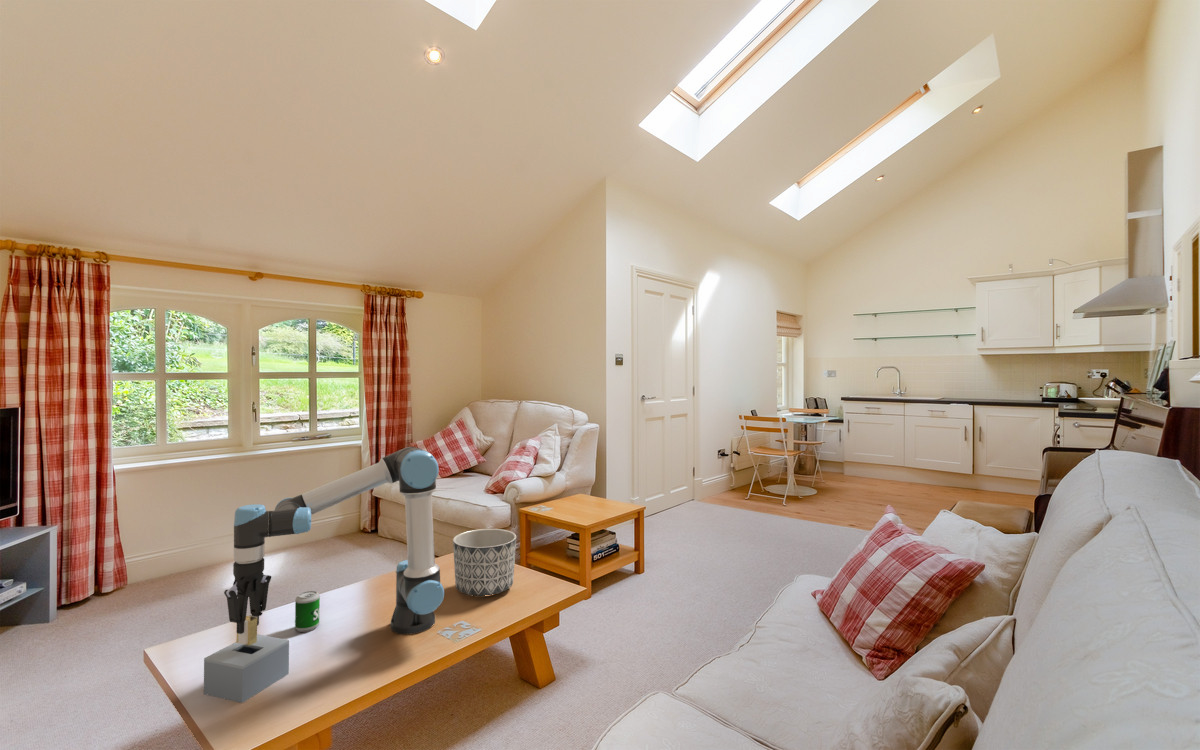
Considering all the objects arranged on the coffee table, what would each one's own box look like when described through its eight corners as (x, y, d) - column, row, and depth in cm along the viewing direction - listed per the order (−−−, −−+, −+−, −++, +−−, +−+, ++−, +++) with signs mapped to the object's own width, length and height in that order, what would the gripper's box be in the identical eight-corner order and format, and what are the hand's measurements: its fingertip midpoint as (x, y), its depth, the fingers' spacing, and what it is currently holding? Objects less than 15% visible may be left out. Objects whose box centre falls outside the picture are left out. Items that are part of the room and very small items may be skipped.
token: (256, 641, 154) (257, 617, 154) (249, 645, 152) (250, 621, 152) (243, 639, 155) (244, 615, 155) (236, 642, 153) (237, 618, 153)
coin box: (288, 673, 159) (289, 640, 159) (242, 703, 144) (242, 666, 144) (252, 666, 163) (252, 633, 163) (203, 694, 148) (204, 658, 148)
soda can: (308, 634, 183) (309, 599, 183) (289, 632, 184) (290, 597, 184) (324, 624, 190) (324, 590, 190) (305, 622, 192) (306, 589, 192)
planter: (467, 576, 237) (467, 527, 237) (523, 579, 234) (523, 530, 234) (441, 600, 211) (442, 545, 211) (504, 605, 208) (505, 549, 208)
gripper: (262, 550, 162) (261, 627, 162) (213, 567, 147) (212, 651, 147) (281, 552, 160) (280, 630, 160) (234, 570, 145) (232, 656, 145)
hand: (247, 640), depth 153 cm, fingers closed on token, 2 cm apart
